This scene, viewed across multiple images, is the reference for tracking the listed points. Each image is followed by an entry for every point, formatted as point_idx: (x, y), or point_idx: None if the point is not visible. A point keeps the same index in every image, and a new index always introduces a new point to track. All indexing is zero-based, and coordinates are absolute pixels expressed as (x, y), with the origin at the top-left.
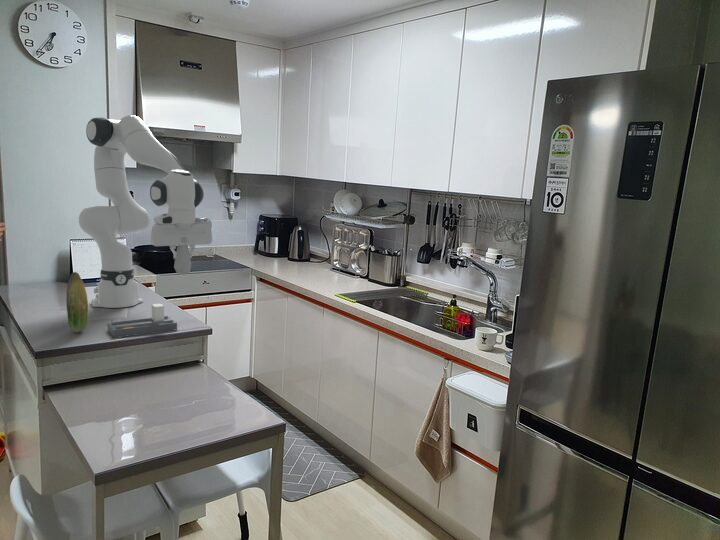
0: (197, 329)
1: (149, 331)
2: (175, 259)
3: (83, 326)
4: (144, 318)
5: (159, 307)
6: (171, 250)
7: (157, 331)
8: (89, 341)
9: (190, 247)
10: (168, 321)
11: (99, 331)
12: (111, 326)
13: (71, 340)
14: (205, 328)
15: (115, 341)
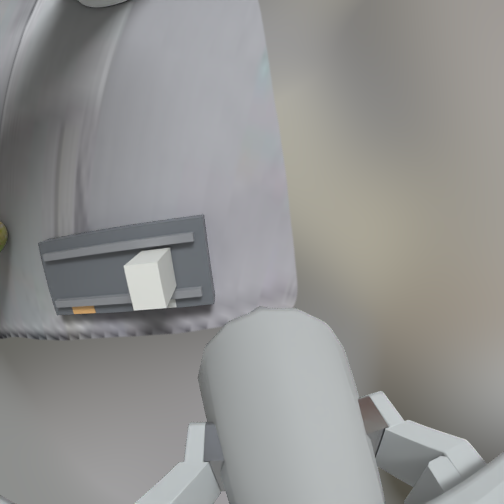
0: None
1: None
2: None
3: (2, 248)
4: (118, 246)
5: (150, 307)
6: (156, 493)
7: None
8: (30, 313)
9: (411, 493)
10: (188, 296)
11: (34, 239)
12: (47, 276)
13: (5, 291)
14: None
15: (72, 336)
